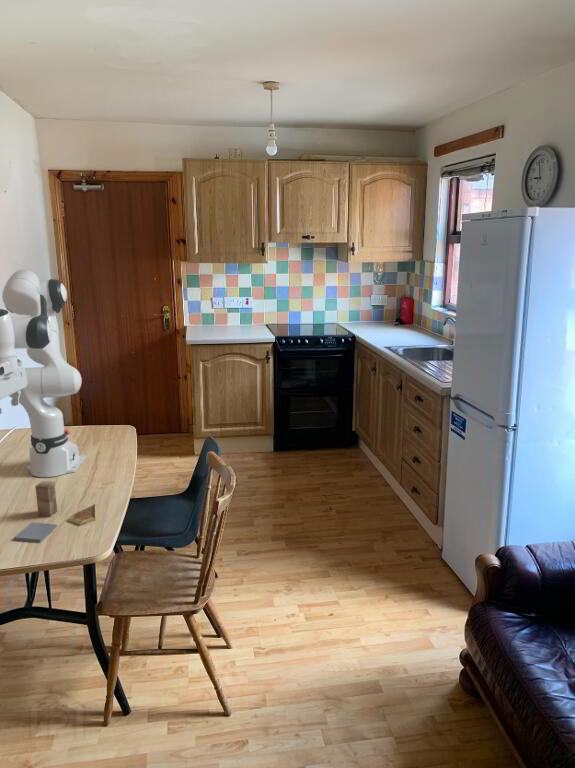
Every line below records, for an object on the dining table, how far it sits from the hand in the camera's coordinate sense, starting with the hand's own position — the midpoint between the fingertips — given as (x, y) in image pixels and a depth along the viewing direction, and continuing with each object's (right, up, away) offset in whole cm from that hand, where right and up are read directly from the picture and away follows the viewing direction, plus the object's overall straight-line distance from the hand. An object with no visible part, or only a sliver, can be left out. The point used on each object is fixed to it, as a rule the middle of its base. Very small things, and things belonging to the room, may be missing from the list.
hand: (6, 409), depth 177 cm
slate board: (+12, -35, -2) cm, 37 cm away
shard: (+21, -34, +4) cm, 40 cm away
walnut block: (+10, -33, +6) cm, 35 cm away
